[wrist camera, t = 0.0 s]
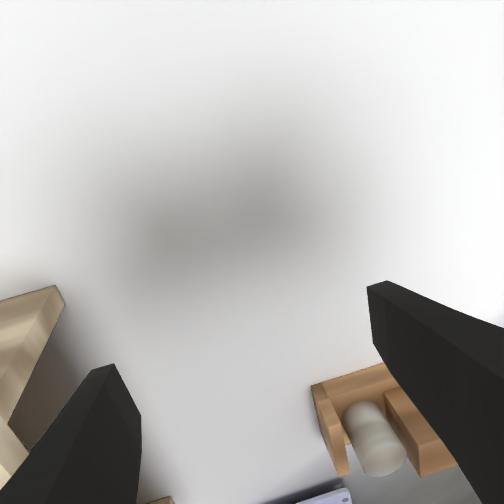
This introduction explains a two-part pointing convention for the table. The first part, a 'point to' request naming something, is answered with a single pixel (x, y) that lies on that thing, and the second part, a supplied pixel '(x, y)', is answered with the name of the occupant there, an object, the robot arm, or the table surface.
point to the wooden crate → (24, 363)
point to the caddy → (376, 425)
